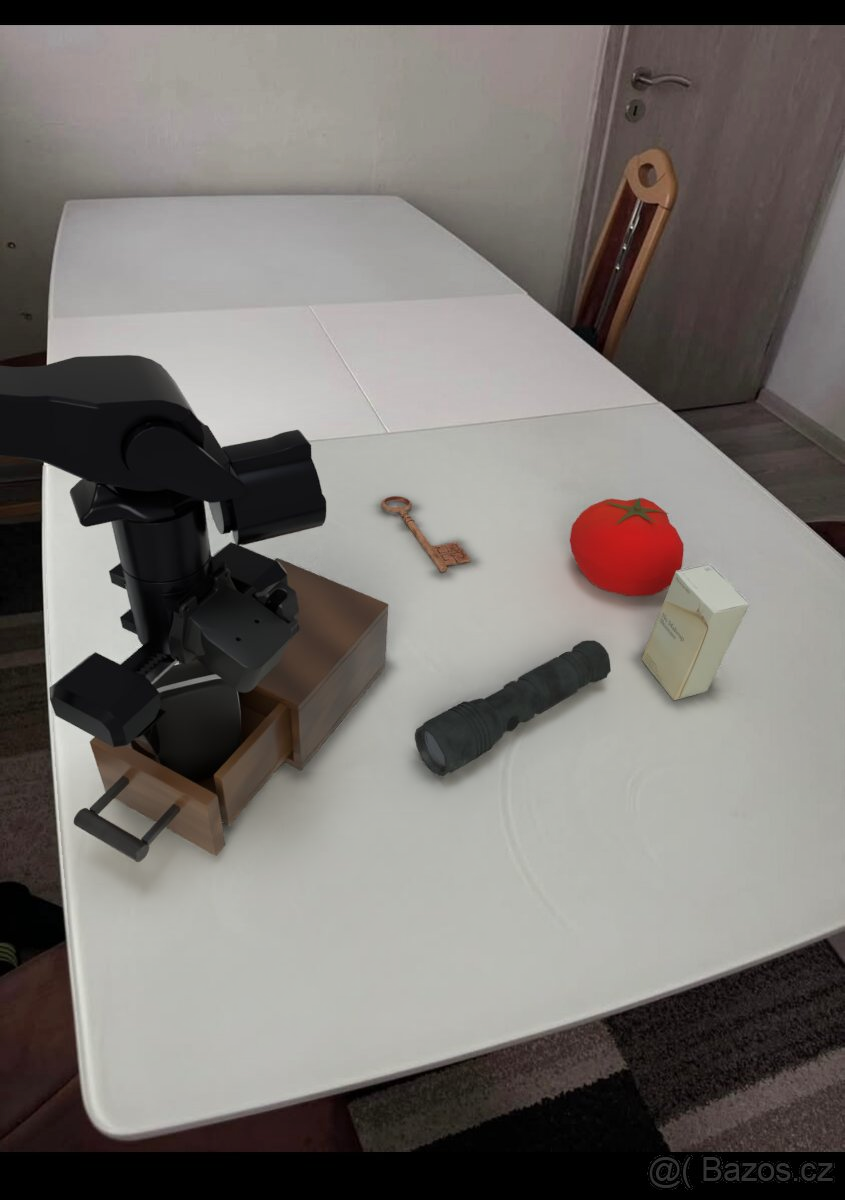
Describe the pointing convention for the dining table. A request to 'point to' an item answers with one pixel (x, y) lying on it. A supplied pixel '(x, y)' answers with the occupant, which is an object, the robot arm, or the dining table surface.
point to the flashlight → (507, 708)
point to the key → (430, 549)
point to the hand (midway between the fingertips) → (193, 711)
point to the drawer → (189, 783)
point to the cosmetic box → (694, 630)
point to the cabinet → (326, 658)
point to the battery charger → (197, 721)
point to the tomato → (627, 546)
